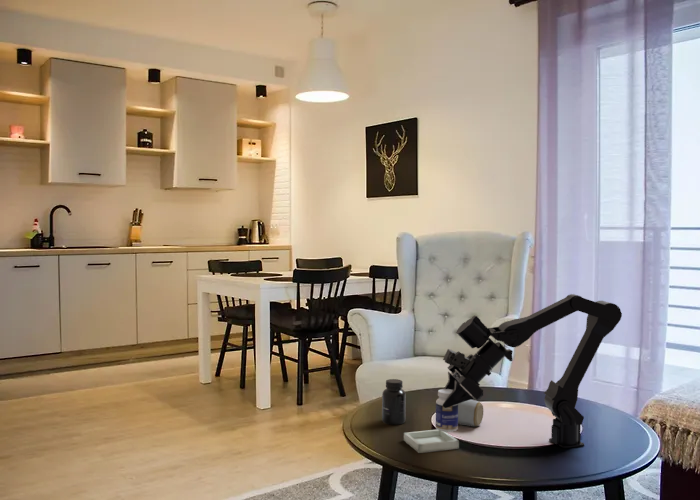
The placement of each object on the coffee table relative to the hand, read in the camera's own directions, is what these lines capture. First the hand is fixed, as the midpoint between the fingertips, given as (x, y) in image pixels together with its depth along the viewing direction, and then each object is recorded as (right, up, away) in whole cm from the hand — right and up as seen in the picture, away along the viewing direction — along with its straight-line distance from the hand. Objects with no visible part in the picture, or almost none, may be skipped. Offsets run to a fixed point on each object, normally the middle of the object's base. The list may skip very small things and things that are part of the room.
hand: (441, 403), depth 162 cm
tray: (-3, -11, 0) cm, 11 cm away
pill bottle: (+1, -7, 0) cm, 7 cm away
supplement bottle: (-11, -10, +20) cm, 25 cm away
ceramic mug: (+10, -10, +18) cm, 23 cm away
